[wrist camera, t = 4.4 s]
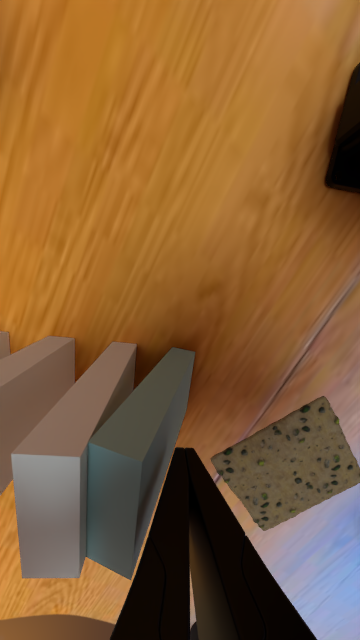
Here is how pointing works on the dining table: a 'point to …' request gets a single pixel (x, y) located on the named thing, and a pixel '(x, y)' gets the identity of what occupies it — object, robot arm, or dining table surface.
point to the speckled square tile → (290, 465)
